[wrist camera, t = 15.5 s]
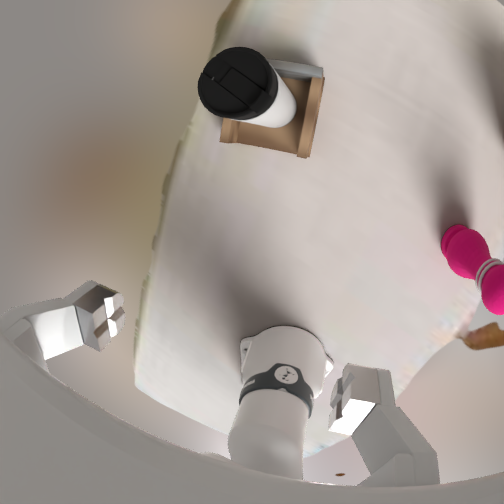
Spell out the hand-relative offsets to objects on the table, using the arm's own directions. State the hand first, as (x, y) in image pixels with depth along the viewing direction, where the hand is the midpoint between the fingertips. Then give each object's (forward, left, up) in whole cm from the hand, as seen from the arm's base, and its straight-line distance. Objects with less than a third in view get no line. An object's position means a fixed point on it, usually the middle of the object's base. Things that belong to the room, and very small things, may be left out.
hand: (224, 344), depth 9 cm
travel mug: (+10, +6, -34) cm, 36 cm away
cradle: (+10, +6, -35) cm, 37 cm away
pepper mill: (-2, -27, -35) cm, 45 cm away
